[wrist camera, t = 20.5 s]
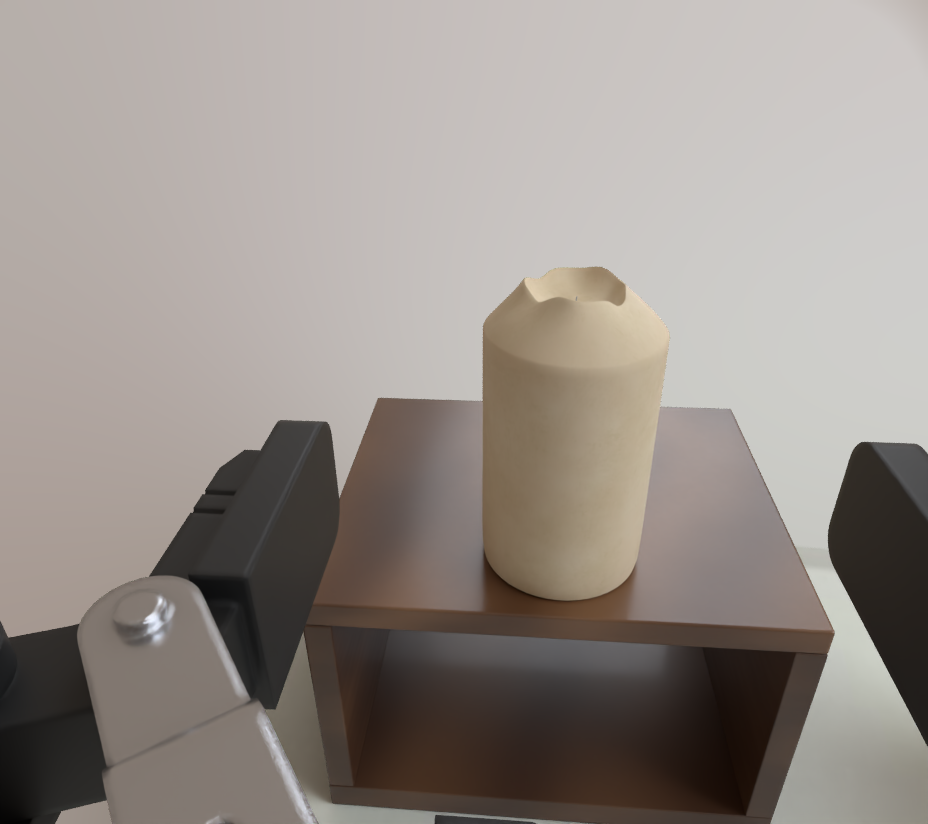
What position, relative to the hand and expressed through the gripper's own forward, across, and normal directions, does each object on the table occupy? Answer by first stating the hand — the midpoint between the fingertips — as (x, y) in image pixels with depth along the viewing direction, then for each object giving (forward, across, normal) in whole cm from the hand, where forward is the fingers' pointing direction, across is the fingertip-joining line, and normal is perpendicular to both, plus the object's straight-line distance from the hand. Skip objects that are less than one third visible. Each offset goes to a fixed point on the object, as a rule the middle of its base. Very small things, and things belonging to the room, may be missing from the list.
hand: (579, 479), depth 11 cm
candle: (+11, -1, +11) cm, 15 cm away
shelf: (+14, -1, +22) cm, 26 cm away
